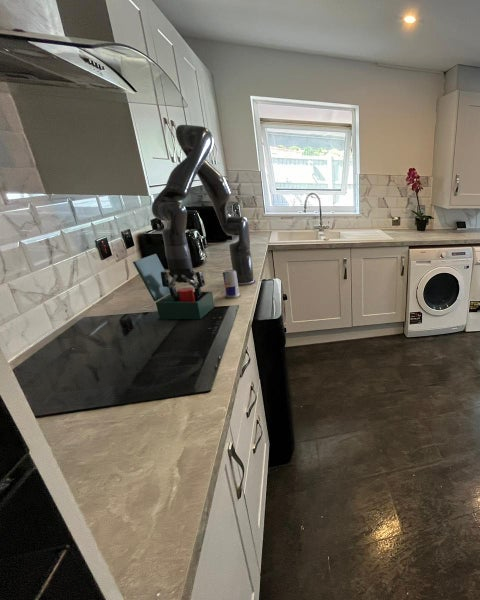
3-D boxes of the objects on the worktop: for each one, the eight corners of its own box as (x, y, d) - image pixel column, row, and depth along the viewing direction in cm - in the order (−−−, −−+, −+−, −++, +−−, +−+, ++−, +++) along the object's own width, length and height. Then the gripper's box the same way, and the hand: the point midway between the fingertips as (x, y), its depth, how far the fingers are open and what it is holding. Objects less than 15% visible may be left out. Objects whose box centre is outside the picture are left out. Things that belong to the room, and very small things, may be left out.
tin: (186, 308, 130) (181, 287, 127) (199, 308, 131) (195, 287, 128) (179, 313, 125) (174, 291, 122) (193, 313, 126) (188, 291, 123)
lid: (156, 253, 125) (154, 254, 125) (134, 261, 113) (132, 262, 113) (175, 290, 131) (173, 290, 131) (156, 301, 119) (154, 301, 119)
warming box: (214, 306, 135) (212, 291, 133) (200, 319, 123) (197, 302, 121) (177, 306, 133) (174, 291, 131) (159, 319, 122) (155, 302, 119)
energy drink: (223, 296, 146) (219, 271, 142) (234, 293, 150) (230, 268, 146) (231, 299, 144) (227, 273, 140) (242, 295, 148) (238, 270, 144)
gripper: (203, 254, 125) (210, 293, 130) (163, 253, 123) (172, 293, 129) (193, 258, 118) (201, 300, 123) (151, 258, 116) (161, 300, 122)
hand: (186, 296), depth 126 cm, fingers open, 8 cm apart
